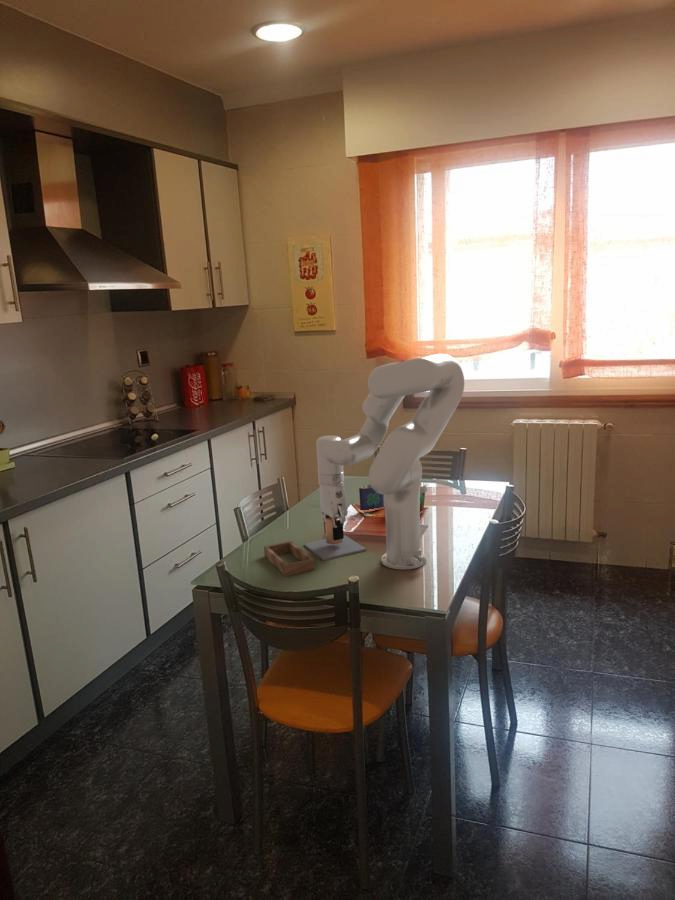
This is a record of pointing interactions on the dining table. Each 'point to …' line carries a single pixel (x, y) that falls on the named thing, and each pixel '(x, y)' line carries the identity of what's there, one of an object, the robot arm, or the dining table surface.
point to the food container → (422, 497)
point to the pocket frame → (291, 568)
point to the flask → (370, 498)
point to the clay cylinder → (330, 531)
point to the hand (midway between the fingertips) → (334, 535)
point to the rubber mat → (334, 548)
